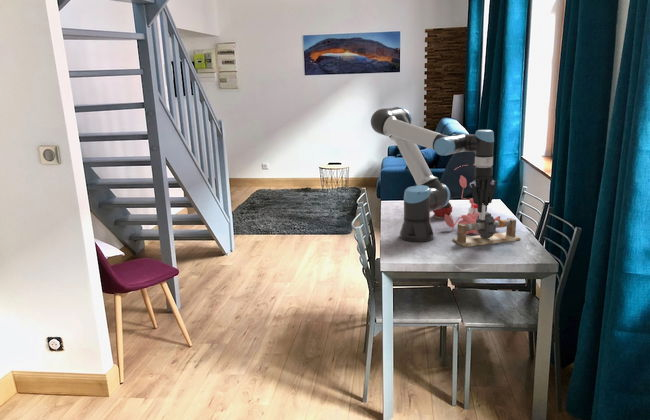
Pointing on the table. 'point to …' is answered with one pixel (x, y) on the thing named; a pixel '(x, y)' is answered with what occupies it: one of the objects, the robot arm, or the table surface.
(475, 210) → the pill bottle
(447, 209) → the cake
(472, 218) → the figurine
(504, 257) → the table surface
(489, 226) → the square-toothed gear
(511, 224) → the pipe rig
